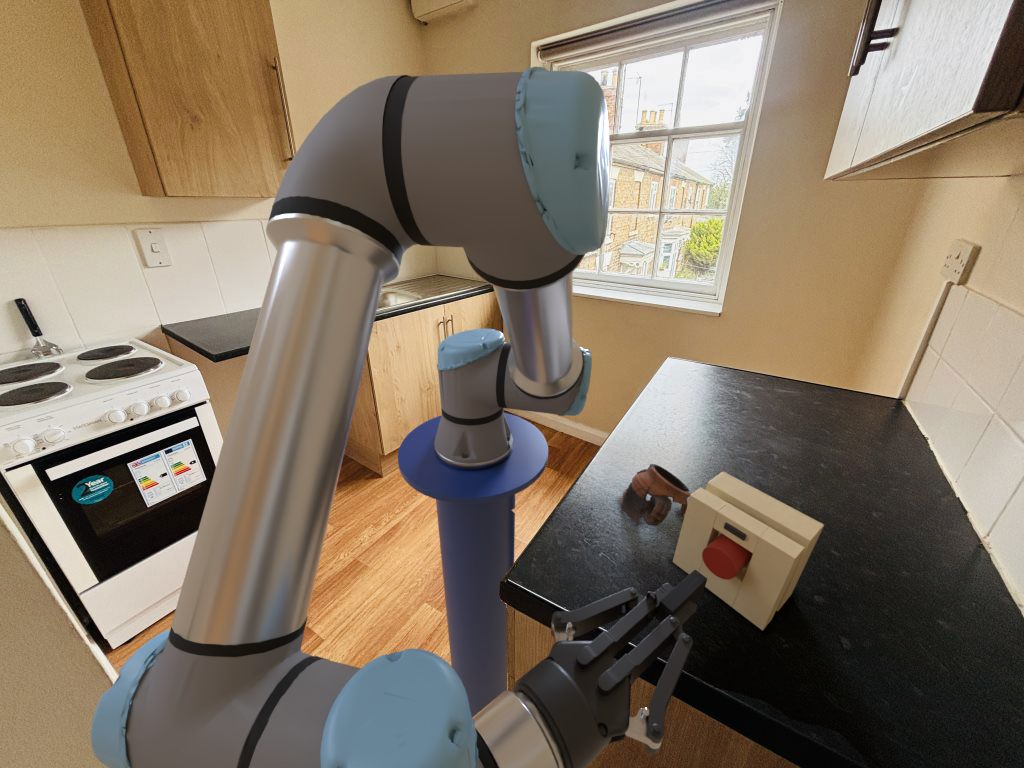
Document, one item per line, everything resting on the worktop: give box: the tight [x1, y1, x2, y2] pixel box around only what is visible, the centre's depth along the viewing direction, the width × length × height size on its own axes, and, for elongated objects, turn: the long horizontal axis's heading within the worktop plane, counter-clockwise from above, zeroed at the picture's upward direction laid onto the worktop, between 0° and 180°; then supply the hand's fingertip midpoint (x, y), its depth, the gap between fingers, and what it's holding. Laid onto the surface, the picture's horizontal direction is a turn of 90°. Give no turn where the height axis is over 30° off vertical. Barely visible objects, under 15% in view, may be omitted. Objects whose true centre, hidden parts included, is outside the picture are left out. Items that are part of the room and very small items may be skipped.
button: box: [702, 534, 752, 580], centre depth 48 cm, size 4×4×4 cm
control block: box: [672, 471, 825, 631], centre depth 51 cm, size 12×8×12 cm
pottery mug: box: [619, 463, 692, 527], centre depth 63 cm, size 12×9×8 cm
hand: (698, 582), depth 45 cm, fingers closed
